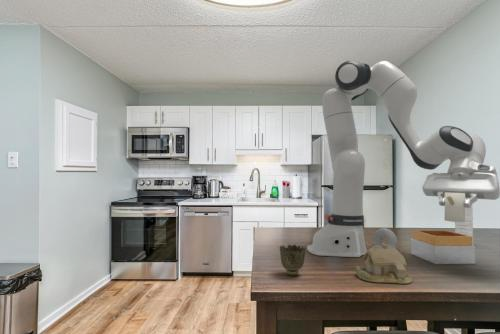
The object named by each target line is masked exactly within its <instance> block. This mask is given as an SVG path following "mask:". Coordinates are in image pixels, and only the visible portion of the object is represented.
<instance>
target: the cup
mask: <svg viewBox="0 0 500 334" xmlns="http://www.w3.org/2000/svg"><path fill="white" fill-rule="evenodd" d="M306 251H307V247H305V246H301V245H298V246H297V244H293V245H291V244H290V243H289V244H288V245H287V247H285V245H280V246H279V253H280V261H281V265H282V267H283V268H284V269H285V270H286V271H285V274H286V275H287V276H289V277H297V276H298V275H299V273H300V272H299V270H301V269H302V268H303V266H304V264H305V263H304V262H305V258H306V256H305V255H306Z"/></svg>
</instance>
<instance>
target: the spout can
mask: <svg viewBox="0 0 500 334" xmlns="http://www.w3.org/2000/svg"><path fill="white" fill-rule="evenodd" d="M444 199H445V206H444V221H445V222H453V223H455V222H465V207H464V201H465V193H451V192H445V197H444Z"/></svg>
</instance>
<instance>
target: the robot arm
mask: <svg viewBox="0 0 500 334" xmlns="http://www.w3.org/2000/svg"><path fill="white" fill-rule="evenodd" d="M334 75H335V76H334V79H335V83H336V86H334V87H333V88H330V89H328V90H327V91H325V92H324V94H323V95H322V102H321V103H322V106H321V107H322V115H323V121H324V126H325V131H326V135H327V136H326V137H327V143H328V148H329V154H330V155H329V156H330V161H331V167H332V170H333V183H332V185H333V186H332V187H333V188H332V213H331V214H330V215H329V214H327V213H326V214H325V215H324V220H327V224H326V225H324V226H323V227H322V228H320V229H319V230H318V231H316V232H315V233H314V235H313V238H312V243H311V244H308V245H307V247H306V251H307V252H309V253H310V254H312V255H315V256H320V257H321V256H323V257H324V256H328V257H344V258H345V257H346V258H360V257H361V256H364V255H365V253H366V251H367V246H366V243H365V236H364V228H365V217H364V214H363V212H364V211H363V209H364V208H363V207H364V204H363V203H364V200H363V197H364V186H365V185H364V184H365V171H366V161H365V158H364V156H363V155H362V154H361V152H360V151H359V146H358V138H357V134H358V133H357V129H356V123H355V119H354V113H353V110H352V101H354V100H356V99H357V98H359V97H361V96H362V95H364V94H366V92H367V91H368V90H371V91H374V93H376V94H377V96H379V98H380V99H381V101H383V103H384V104H385V107H386V109H387V112H388V113H387V115H388V120H389V122H390V124H391V126H392V127H393V129H394V130H395V133H397V135H398V136H399V137H400V139H401V141H402V142H403V144H404V145H405V147H406V148H407V151H409V154H410V156H411V158H412V160H413V162H414V163H415V165H416V166H418V167H419V168H422V169H424V170H430V171H431V170H435V169H436V168H438V167H439V166H440V165H442V164H443V163H444V162H445V161H447V160H449V162H450V163H449V167H448V169H447V172H439V173H437V172H433V173H432V174H429V175H426V179H425V181H424V183H423V184H422V192H423V194H424V195H425V196H427V197H438V199H439V200H438V204H439V206H440V207H445V192H451V193H465V198H469V199H468V200H465V201H464V207H465V208H471V204H472V205H473V204H475V202H477V201H478V200H489V201H490V200H492V201H495V200H498V199H499V198H500V183H499V178H498V173H497V170H496V168H495V166H493V165H488V164H484V162H485V159H486V151H487V150H486V149H487V147H486V143H485V141H484V140H483V138H481V137H480V136H479V135H476V134H469V133H467V132H466V131H464V130H463V129H461V128H459V127H456V126H452V125H444V126H441V127H440V128H439V129H437V130H435V132H433V133H432V134H431V135H430V136H429V137H428V138H426V139H425V140H423V139H422V138H421V136H420V135H419V133H418V132H417V130H416V129H415V127H414V126H413V125H412V122H411V112H412V109H413V107H414V106H415V103H416V102H417V101H416V100H417V97H418V90H417V86H416V85H415V83H414V82H413V81H412V79H410V78H409V76H407V75H406V74H405V73H404V72H403V71H402V70H401V69H400V68H398V67H397V66H396V65H394V64H393V63H391V62H390V61H388V60H380V61H378V62H376V63H375V64H373V65H372V66H370V65H369V64H367V63H365V62H360V61H355V60H346V61H344V62H342V63H341V64H339V66H338V67H337V69H336V71H335V74H334Z"/></svg>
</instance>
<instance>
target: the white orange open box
mask: <svg viewBox="0 0 500 334" xmlns="http://www.w3.org/2000/svg"><path fill="white" fill-rule="evenodd" d="M412 234H413V235H412V237H411V238H410V245H411V246H410V248H411V250H410V251H411V252H410V255H412V256H415V257H418V258H420V259H422V260H425V261H427V262H428V263H432V264H433V265H475V264H476V245H474V241H473V242H472V236H468V235H464V234H460V233H456V232H455V231H450V230H444V229H441V230H440V229H438V230H437V229H436V230H435V229H434V230H432V229H431V230H430V229H428V230H427V229H425V230H424V229H420V230H419V229H417V230H416V229H413V230H412Z"/></svg>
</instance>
